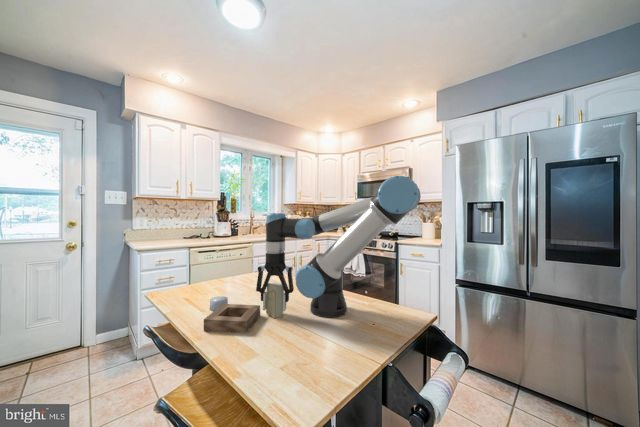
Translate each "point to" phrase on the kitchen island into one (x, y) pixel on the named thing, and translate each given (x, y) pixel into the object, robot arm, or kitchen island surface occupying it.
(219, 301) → the light blue rounded block
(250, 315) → the socket block
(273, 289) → the skincare box
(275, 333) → the kitchen island surface
